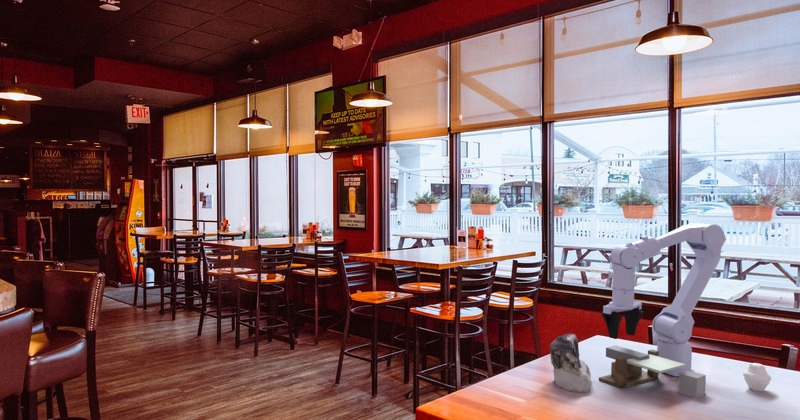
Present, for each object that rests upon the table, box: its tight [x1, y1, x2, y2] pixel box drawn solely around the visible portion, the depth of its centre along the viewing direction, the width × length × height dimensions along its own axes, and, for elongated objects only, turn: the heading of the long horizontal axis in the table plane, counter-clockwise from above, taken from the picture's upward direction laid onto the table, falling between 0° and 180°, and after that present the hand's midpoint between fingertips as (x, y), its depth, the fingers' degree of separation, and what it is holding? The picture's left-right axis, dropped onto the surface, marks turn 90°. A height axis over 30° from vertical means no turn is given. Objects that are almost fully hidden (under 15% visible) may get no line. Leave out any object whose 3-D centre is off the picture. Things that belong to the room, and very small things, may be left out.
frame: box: [598, 349, 659, 389], centre depth 147 cm, size 16×7×8 cm, turn 121°
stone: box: [549, 332, 593, 393], centre depth 142 cm, size 14×10×15 cm
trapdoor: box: [605, 345, 685, 374], centre depth 144 cm, size 11×18×3 cm, turn 31°
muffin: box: [742, 362, 772, 392], centre depth 140 cm, size 6×6×7 cm
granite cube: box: [678, 370, 707, 399], centre depth 137 cm, size 4×4×5 cm
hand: (621, 336), depth 152 cm, fingers open, 7 cm apart
